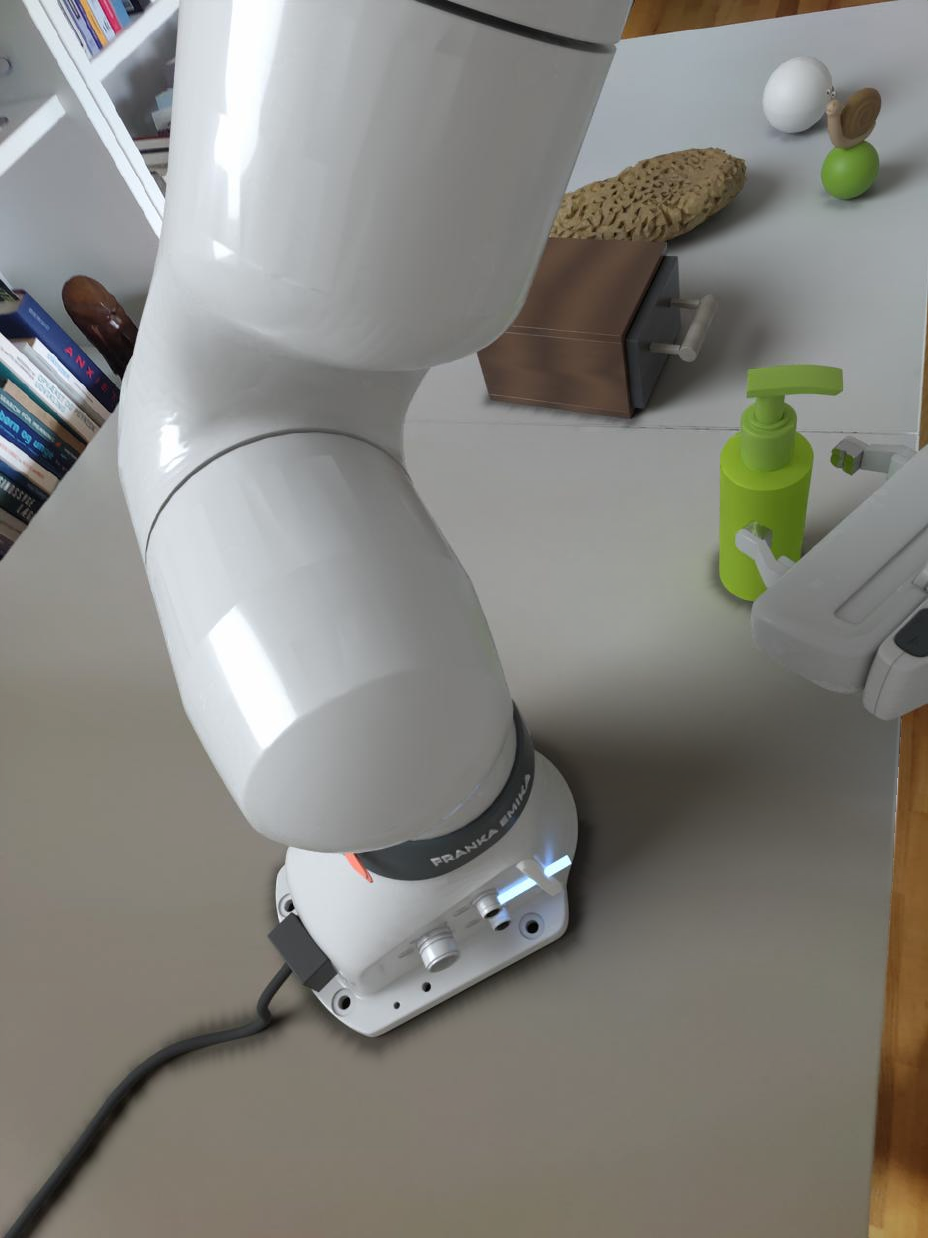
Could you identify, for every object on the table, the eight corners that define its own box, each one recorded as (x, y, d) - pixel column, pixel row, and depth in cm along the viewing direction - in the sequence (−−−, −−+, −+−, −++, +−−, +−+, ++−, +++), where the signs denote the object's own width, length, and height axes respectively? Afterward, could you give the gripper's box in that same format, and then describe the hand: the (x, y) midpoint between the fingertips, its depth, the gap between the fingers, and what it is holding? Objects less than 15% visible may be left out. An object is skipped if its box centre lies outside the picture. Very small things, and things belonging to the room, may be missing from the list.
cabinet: (671, 328, 84) (666, 241, 77) (630, 419, 79) (621, 335, 71) (536, 316, 90) (519, 234, 83) (489, 399, 85) (467, 321, 77)
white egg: (834, 139, 95) (841, 69, 89) (763, 151, 97) (766, 84, 91) (823, 93, 100) (830, 24, 94) (756, 105, 102) (759, 38, 96)
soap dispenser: (812, 603, 64) (845, 409, 48) (717, 600, 66) (718, 413, 50) (812, 541, 67) (842, 338, 51) (720, 541, 69) (722, 345, 53)
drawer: (725, 330, 81) (726, 258, 75) (690, 414, 76) (688, 345, 70) (553, 314, 89) (540, 248, 82) (511, 391, 84) (494, 327, 77)
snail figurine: (799, 200, 90) (809, 82, 81) (849, 172, 91) (865, 51, 81) (835, 221, 87) (850, 100, 78) (886, 192, 88) (908, 68, 78)
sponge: (561, 287, 94) (748, 233, 85) (537, 218, 89) (733, 153, 80) (580, 234, 102) (752, 180, 93) (559, 169, 98) (739, 105, 88)
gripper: (1115, 460, 49) (900, 365, 57) (882, 689, 45) (684, 553, 53) (1077, 529, 54) (884, 433, 62) (865, 739, 50) (687, 608, 58)
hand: (790, 489), depth 57 cm, fingers open, 8 cm apart
